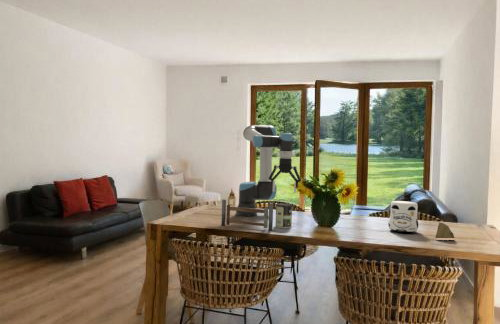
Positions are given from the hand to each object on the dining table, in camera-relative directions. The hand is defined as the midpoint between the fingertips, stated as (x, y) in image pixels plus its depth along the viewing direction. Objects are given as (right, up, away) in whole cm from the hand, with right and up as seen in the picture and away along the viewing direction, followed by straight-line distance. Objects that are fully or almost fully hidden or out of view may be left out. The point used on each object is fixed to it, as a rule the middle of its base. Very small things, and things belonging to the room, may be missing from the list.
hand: (284, 192), depth 263 cm
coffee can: (-1, -22, +1) cm, 22 cm away
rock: (+89, -26, -24) cm, 96 cm away
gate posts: (-23, -21, -7) cm, 32 cm away
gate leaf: (-23, -20, -7) cm, 32 cm away
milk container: (+73, -24, -3) cm, 77 cm away
